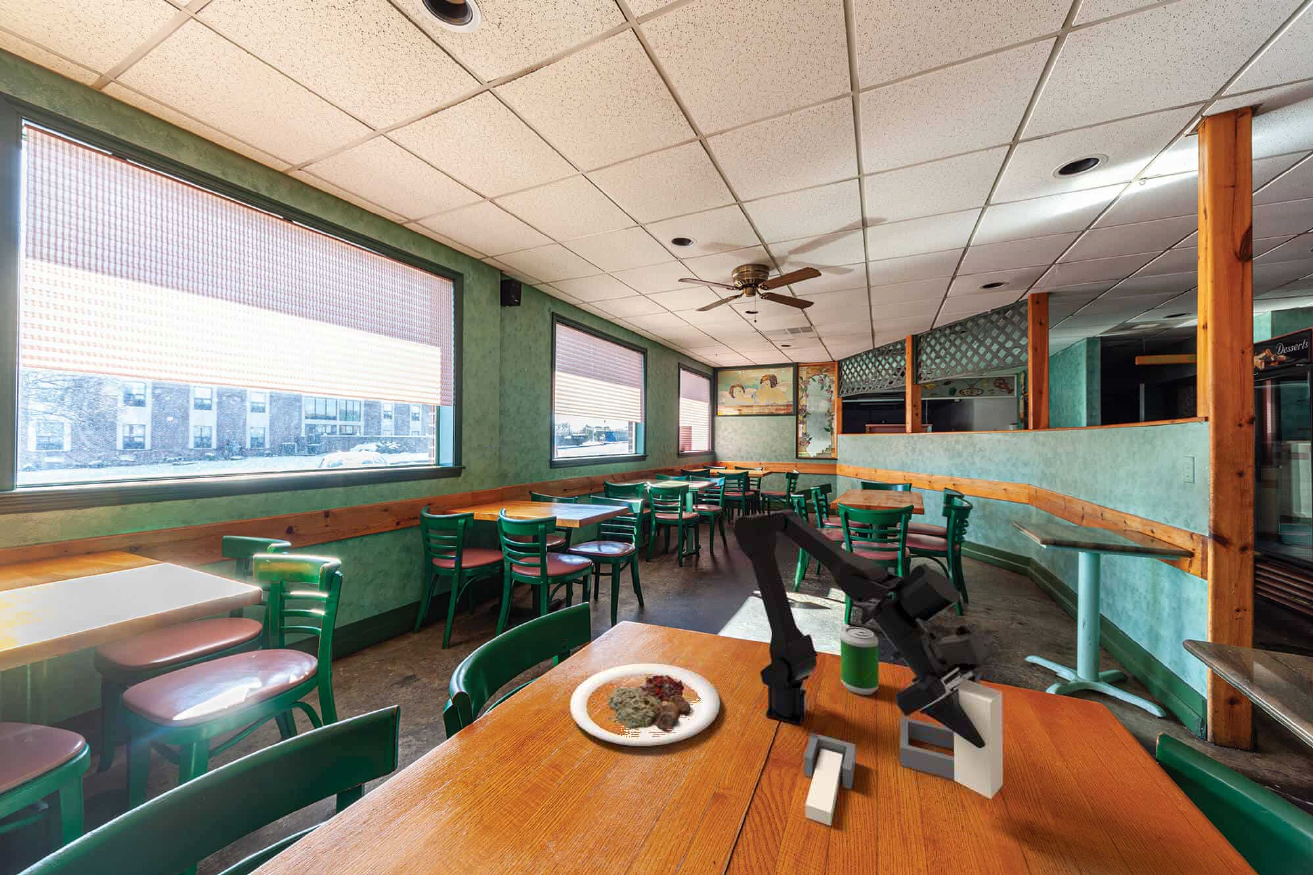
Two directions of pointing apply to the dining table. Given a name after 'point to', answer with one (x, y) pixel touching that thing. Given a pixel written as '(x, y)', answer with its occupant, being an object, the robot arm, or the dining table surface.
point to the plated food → (649, 705)
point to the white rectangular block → (986, 763)
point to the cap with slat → (827, 774)
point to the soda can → (859, 660)
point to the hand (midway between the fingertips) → (989, 740)
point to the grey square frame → (923, 757)
